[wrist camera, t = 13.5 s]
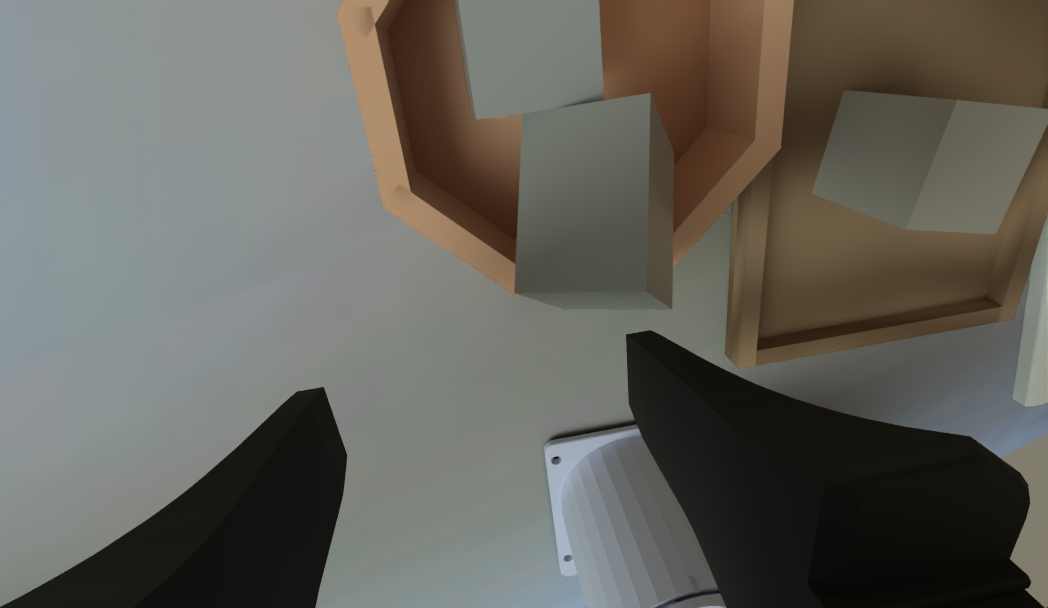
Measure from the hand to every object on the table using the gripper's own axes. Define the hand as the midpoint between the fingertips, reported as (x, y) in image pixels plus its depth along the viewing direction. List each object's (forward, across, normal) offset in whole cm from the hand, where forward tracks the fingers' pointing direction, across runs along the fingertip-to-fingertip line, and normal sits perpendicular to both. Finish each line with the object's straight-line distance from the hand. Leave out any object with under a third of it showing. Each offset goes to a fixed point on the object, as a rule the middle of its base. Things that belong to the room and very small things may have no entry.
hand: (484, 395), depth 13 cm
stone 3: (+10, -16, -2) cm, 19 cm away
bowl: (+10, -4, -6) cm, 12 cm away
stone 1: (+9, -3, -8) cm, 12 cm away
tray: (+10, -18, -2) cm, 21 cm away
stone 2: (+5, -5, -5) cm, 9 cm away
